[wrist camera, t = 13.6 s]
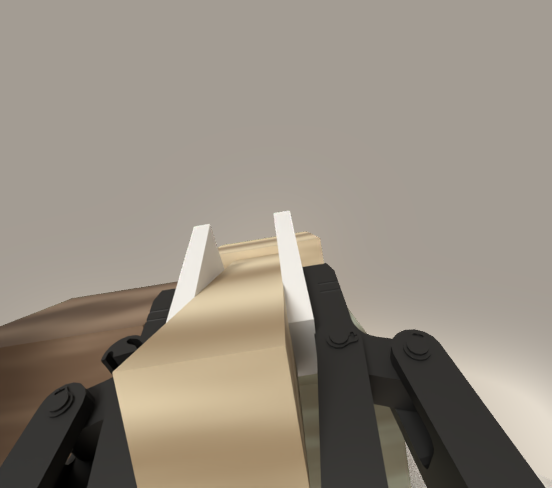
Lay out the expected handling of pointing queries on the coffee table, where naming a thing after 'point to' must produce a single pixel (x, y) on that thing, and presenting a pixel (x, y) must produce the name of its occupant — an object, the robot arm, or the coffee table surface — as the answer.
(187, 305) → the light wooden block
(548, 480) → the coffee table surface
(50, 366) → the stand
